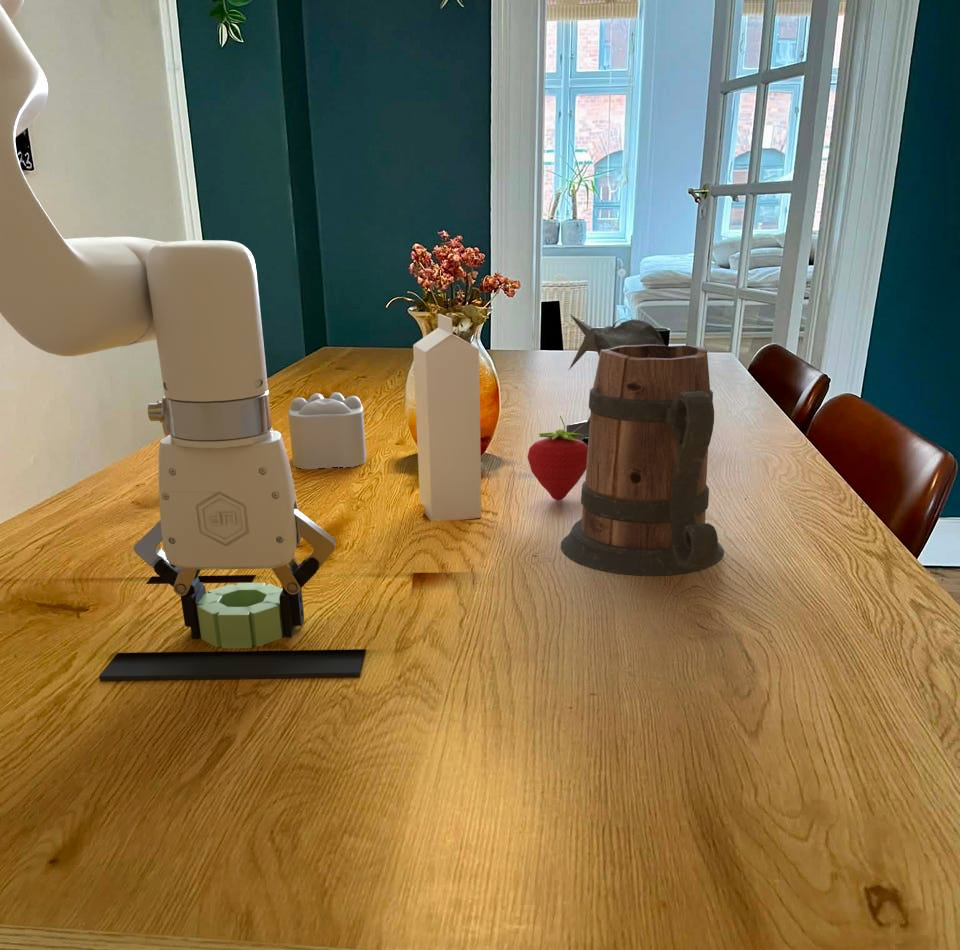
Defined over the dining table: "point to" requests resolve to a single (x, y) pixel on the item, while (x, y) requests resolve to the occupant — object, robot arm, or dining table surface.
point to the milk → (448, 424)
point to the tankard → (647, 464)
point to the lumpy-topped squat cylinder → (327, 432)
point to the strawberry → (558, 461)
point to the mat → (234, 665)
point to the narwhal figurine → (609, 338)
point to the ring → (241, 615)
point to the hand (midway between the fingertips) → (246, 631)
